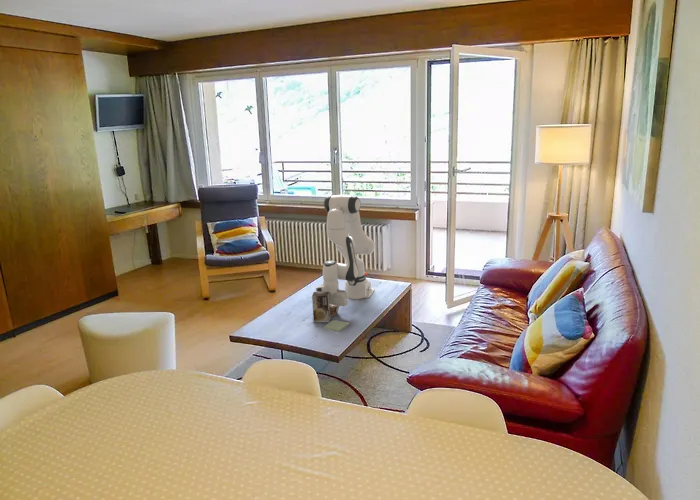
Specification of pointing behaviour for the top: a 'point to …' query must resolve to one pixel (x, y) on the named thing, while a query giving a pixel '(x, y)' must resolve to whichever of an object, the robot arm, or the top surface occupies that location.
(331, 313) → the walnut cube
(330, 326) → the sage board
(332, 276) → the robot arm
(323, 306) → the coffee box
